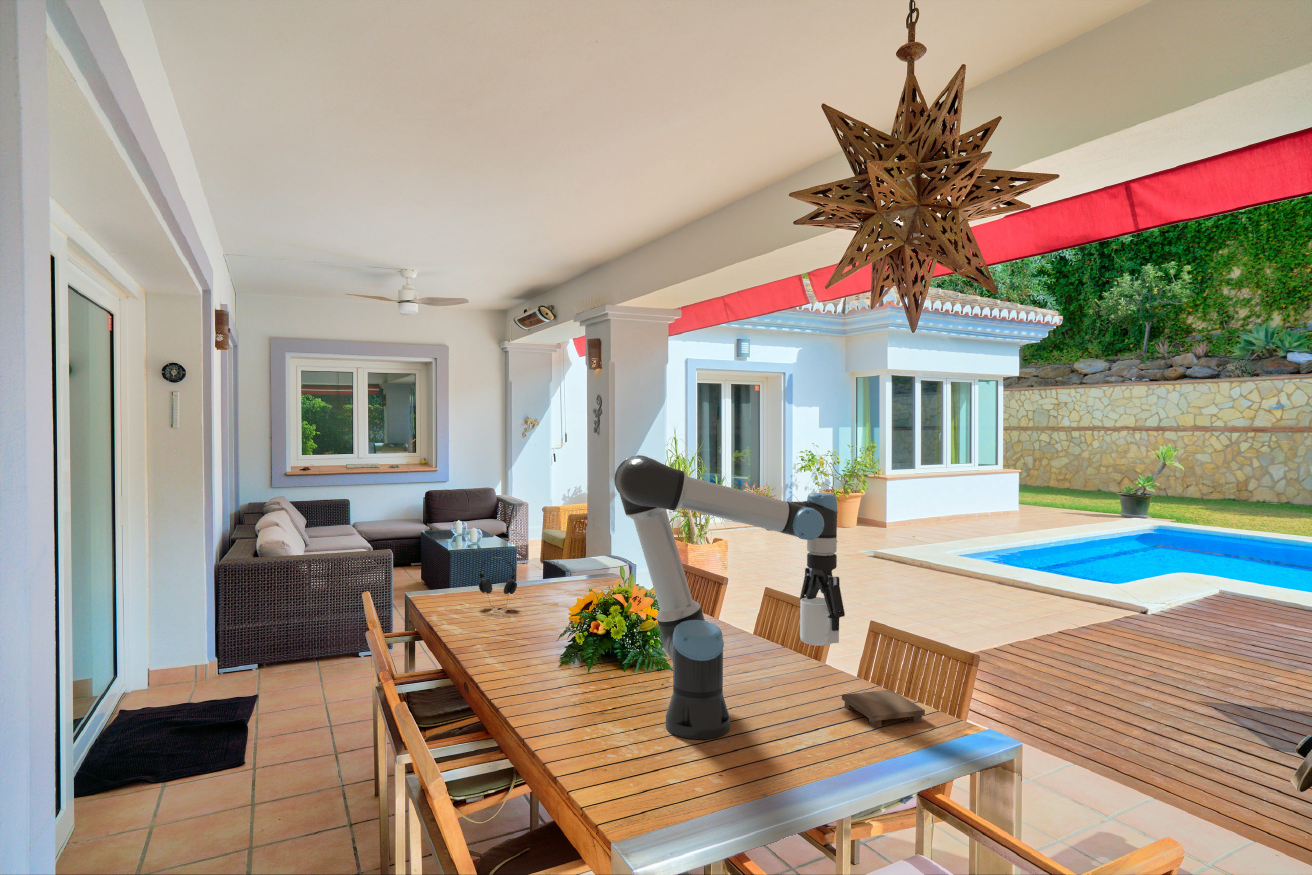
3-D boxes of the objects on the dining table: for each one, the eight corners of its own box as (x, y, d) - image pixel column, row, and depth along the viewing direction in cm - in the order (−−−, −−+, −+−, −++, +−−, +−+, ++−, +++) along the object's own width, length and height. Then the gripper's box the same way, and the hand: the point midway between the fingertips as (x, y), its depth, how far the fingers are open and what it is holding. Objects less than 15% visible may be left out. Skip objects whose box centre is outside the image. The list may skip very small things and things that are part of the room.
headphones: (471, 612, 272) (471, 560, 272) (482, 605, 284) (483, 555, 283) (508, 614, 270) (508, 561, 270) (519, 606, 281) (519, 556, 281)
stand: (873, 728, 166) (873, 715, 166) (841, 706, 180) (841, 694, 180) (924, 722, 170) (924, 709, 170) (890, 700, 183) (890, 689, 183)
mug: (823, 651, 178) (824, 608, 178) (793, 639, 189) (793, 598, 189) (849, 647, 182) (850, 605, 182) (818, 635, 193) (819, 595, 193)
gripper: (859, 560, 175) (858, 648, 175) (812, 545, 198) (811, 623, 198) (832, 561, 173) (831, 650, 173) (787, 546, 196) (787, 624, 196)
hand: (821, 635), depth 186 cm, fingers closed on mug, 12 cm apart
